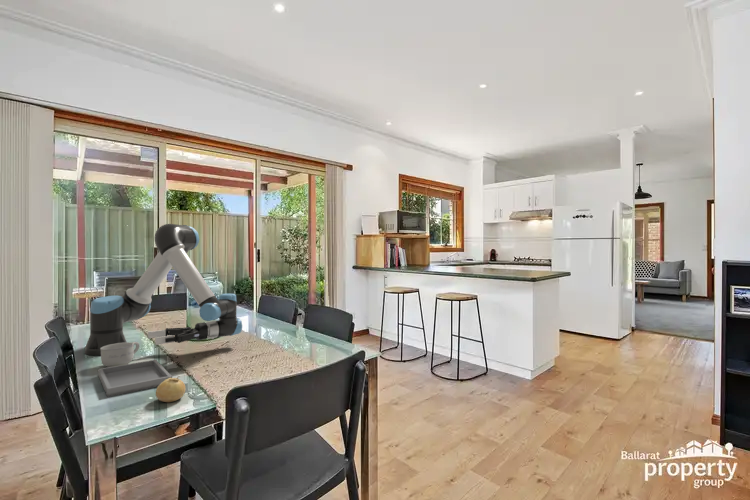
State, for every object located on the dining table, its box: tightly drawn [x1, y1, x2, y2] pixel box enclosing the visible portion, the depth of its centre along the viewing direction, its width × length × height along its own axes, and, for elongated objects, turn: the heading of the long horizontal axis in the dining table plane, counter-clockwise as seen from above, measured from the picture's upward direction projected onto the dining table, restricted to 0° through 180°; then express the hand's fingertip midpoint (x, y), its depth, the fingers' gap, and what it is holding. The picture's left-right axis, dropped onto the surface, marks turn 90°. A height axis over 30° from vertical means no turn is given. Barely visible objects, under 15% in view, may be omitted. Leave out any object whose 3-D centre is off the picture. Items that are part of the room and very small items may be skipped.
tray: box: [97, 359, 173, 398], centre depth 130 cm, size 24×18×2 cm
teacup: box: [100, 341, 140, 368], centre depth 145 cm, size 14×11×8 cm
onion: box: [155, 376, 186, 403], centre depth 114 cm, size 8×8×7 cm
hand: (151, 338), depth 152 cm, fingers open, 13 cm apart
